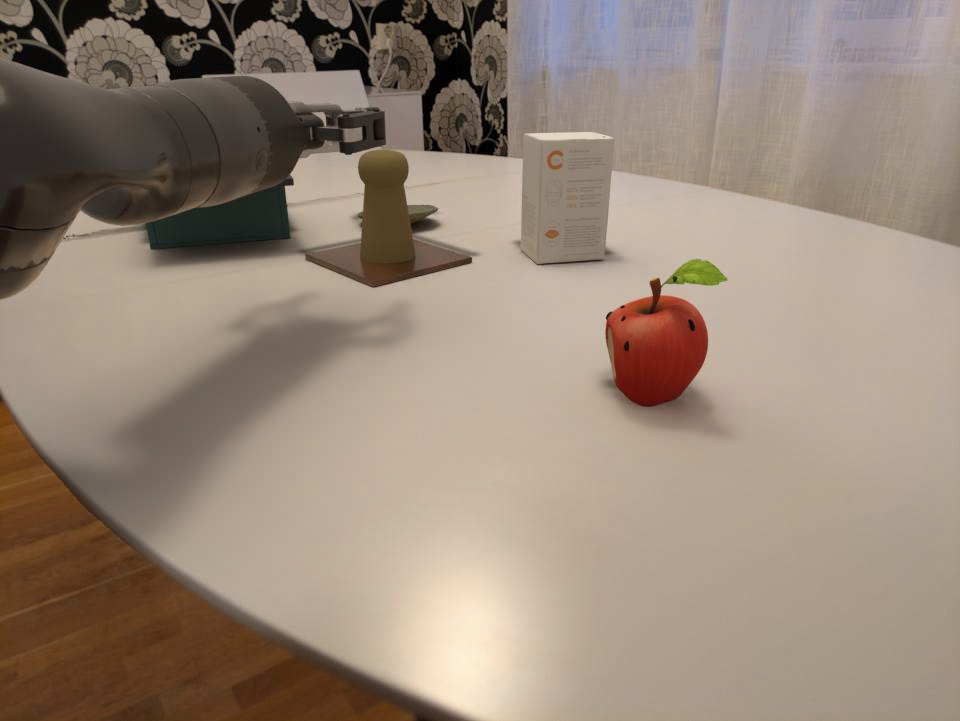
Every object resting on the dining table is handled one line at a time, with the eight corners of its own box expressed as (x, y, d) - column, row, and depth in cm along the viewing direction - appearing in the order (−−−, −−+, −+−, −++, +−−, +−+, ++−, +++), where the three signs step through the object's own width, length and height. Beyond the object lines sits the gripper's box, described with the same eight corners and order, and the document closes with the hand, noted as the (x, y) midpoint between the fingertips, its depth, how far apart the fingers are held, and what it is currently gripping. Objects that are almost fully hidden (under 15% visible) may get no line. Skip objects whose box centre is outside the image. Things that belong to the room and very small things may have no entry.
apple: (576, 403, 44) (588, 254, 40) (618, 367, 49) (633, 231, 45) (693, 438, 40) (720, 277, 36) (725, 394, 45) (752, 249, 41)
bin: (150, 249, 77) (137, 182, 74) (155, 223, 88) (144, 164, 85) (290, 238, 82) (283, 175, 79) (278, 214, 93) (271, 159, 90)
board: (373, 287, 65) (372, 281, 65) (305, 259, 74) (304, 253, 73) (472, 262, 73) (472, 257, 73) (400, 239, 82) (400, 234, 82)
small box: (583, 246, 80) (592, 130, 74) (605, 260, 74) (616, 137, 69) (518, 249, 78) (522, 132, 72) (535, 265, 72) (541, 138, 67)
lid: (412, 248, 84) (421, 209, 81) (342, 221, 85) (349, 183, 83) (442, 232, 93) (451, 197, 91) (379, 209, 95) (386, 174, 92)
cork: (363, 265, 70) (356, 155, 65) (356, 250, 75) (349, 147, 70) (420, 261, 71) (417, 153, 67) (410, 246, 76) (406, 146, 72)
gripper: (310, 80, 40) (407, 72, 54) (109, 74, 43) (250, 68, 57) (320, 207, 43) (409, 168, 57) (133, 192, 46) (261, 159, 61)
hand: (329, 118), depth 57 cm, fingers open, 8 cm apart
